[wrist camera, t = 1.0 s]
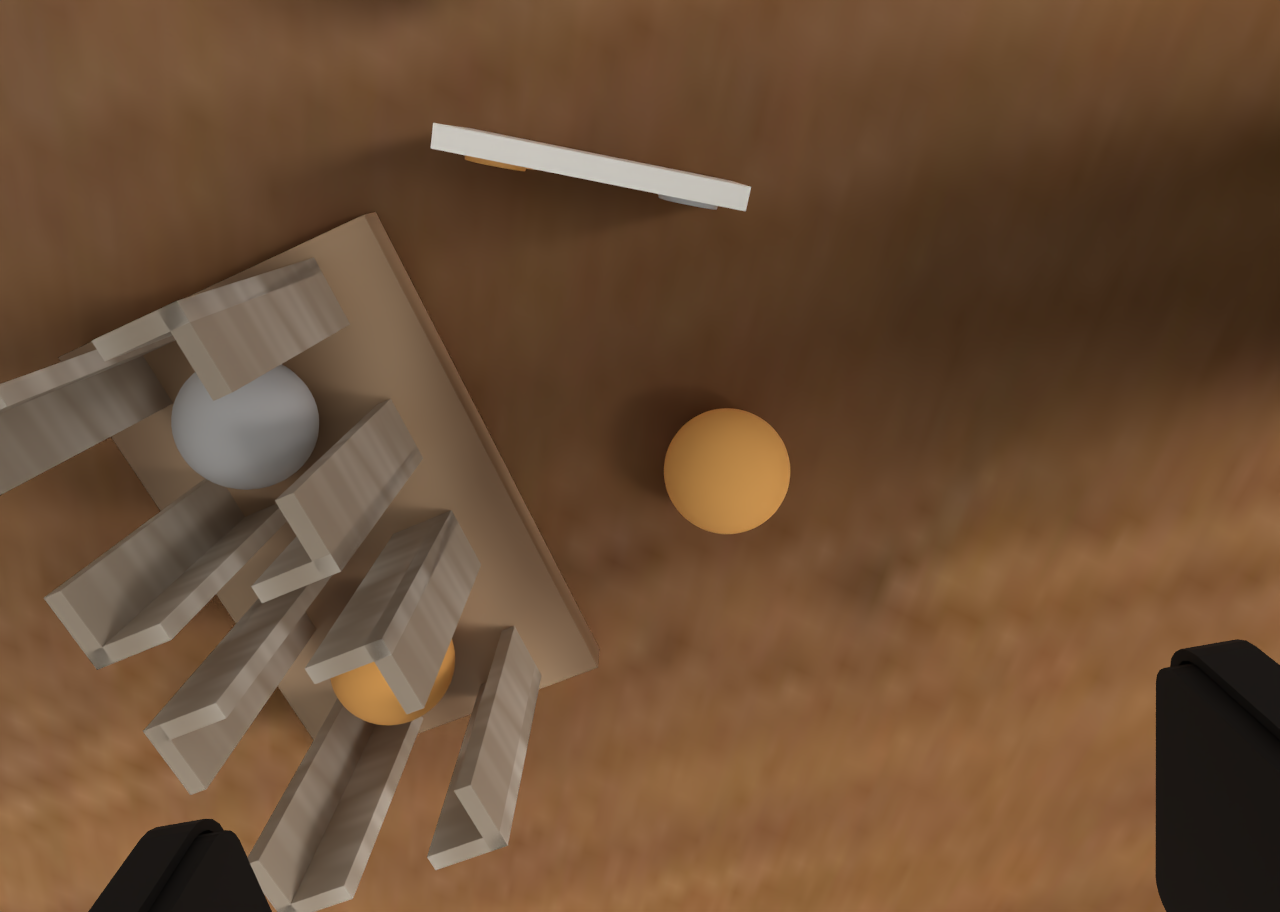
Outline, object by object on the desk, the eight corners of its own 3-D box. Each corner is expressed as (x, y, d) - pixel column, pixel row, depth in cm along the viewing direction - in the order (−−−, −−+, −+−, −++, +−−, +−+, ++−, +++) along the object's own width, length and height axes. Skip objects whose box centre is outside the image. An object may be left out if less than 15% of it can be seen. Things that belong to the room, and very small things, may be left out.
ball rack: (375, 211, 26) (244, 240, 18) (599, 649, 32) (582, 836, 23) (81, 349, 28) (-173, 437, 19) (341, 744, 33) (234, 954, 24)
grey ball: (296, 322, 26) (238, 350, 23) (360, 435, 28) (315, 479, 24) (187, 371, 27) (113, 407, 23) (254, 480, 28) (194, 530, 24)
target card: (472, 128, 26) (433, 122, 21) (731, 180, 26) (751, 186, 21) (469, 154, 26) (429, 154, 21) (726, 205, 26) (744, 217, 22)
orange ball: (755, 375, 28) (772, 409, 24) (796, 479, 29) (818, 527, 26) (644, 420, 29) (644, 461, 25) (689, 521, 30) (695, 574, 26)
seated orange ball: (432, 563, 29) (401, 623, 25) (485, 656, 30) (462, 727, 27) (331, 603, 30) (285, 668, 26) (386, 693, 31) (351, 767, 27)
